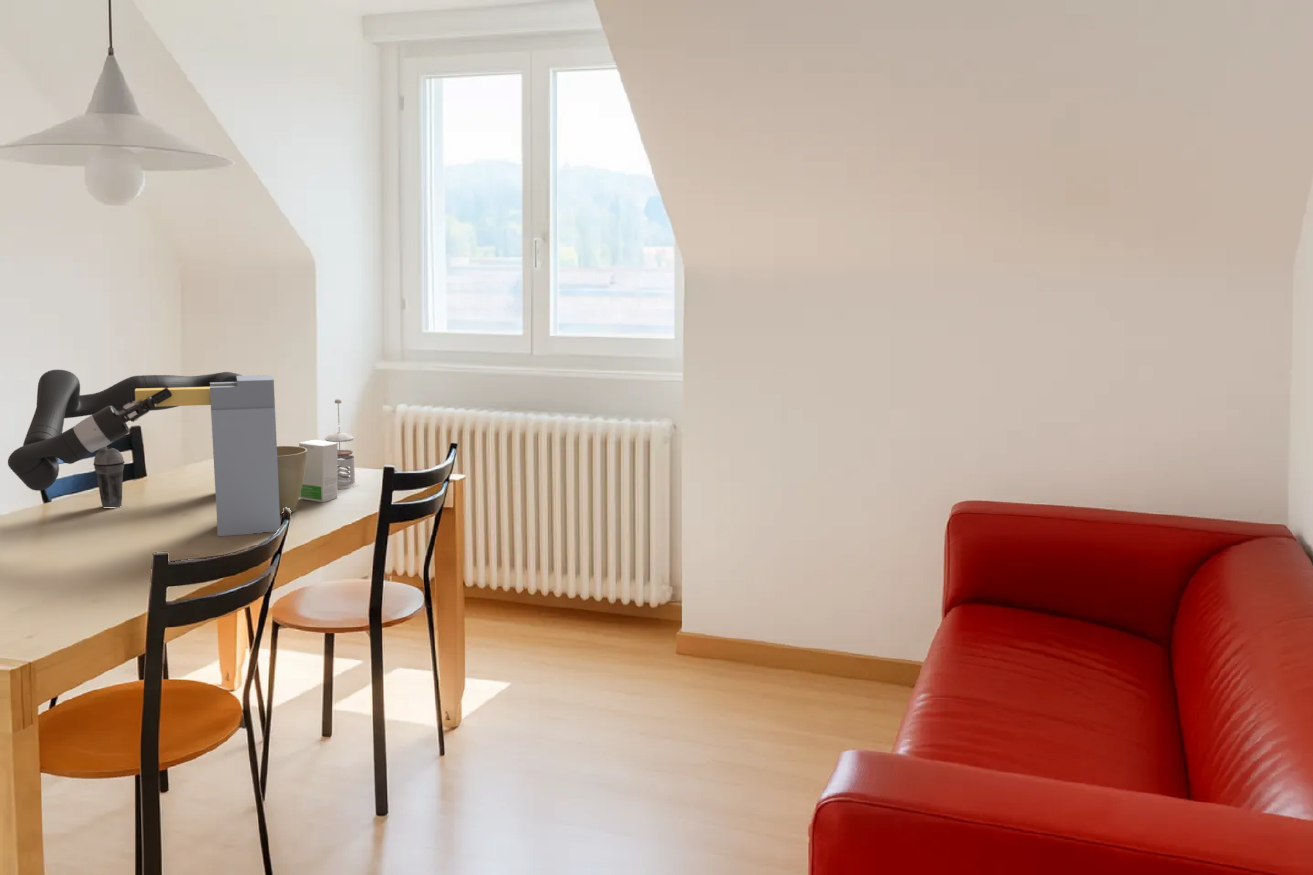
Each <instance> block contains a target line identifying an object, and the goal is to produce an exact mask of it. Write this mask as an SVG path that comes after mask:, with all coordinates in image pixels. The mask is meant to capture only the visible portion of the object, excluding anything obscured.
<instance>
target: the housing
mask: <svg viewBox="0 0 1313 875" xmlns="http://www.w3.org/2000/svg"><path fill="white" fill-rule="evenodd" d="M275 398H276V397H275V380H274V378H273V375H272V374H268V375H267V374H265V375H264V374H263V375H260V374H259V375H242V376H237V382H213V383H210V401H211V405H210V413H211V414H210V417H211V432H212V434H211V435H212V436H211V437H212V452H213V453H212V454H213V468H214V470H213V473H214V474H213V476H214V491H215V509H216V510H215V511H216V524H217V526H216V528H217V529H216V530H217V537H227V536H228V537H229V536H240V535H241V536H242V535H254V534H253V533H257V534H263V533H262V532H270V533H277V532H276V531H277V530H278V529H279V528H280V529H281V514H280V509H279V486H278V463H277V446H278V445H277V425H276V424H277V423H276V422H277V421H276V420H277V418H276V403H275V402H276V400H275Z"/></svg>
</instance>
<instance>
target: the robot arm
mask: <svg viewBox="0 0 1313 875" xmlns="http://www.w3.org/2000/svg"><path fill="white" fill-rule="evenodd" d="M237 376H243V374H240V373H236V372H233V371H222V372H216V373H210V374H209V373H208V374H202V375H191V376H189V375H187V376H185V375H175V374H174V375H171V374H170V375H169V374H168V375H167V374H146V375H133V376H130V377H127V378H125V379H123V380H121V381H118V382H116V383H115V384H113V385H112V386H111V385H110V386H109V387H108V388H105V389H104V390H102V391H98V392H95V393H89V394H82V395H81V384H80V383H81V382H80V380H79V378H78V376H77V375H76V374H75V373H73V372H71V371H69V370H65V369H51V370H48V371H45V372H44V373H43V374H42V375H41V376H40V378H39V380H38V382H37V384H38V385H37V391H36V392H37V393H36V394H37V395H36V408H35V411H34V414H33V416H32V419H31V422H30V424H29V428H28V430H27V433H26V435H25V437H24V441H23V444H22V446H20V447H18V448H16V449H15V450H13V451H12V453H10V455H9V456H8V459H7V466H8V467H9V469H10V470H12V471H11V472H13V473H14V474H15V475H16V476H17V478H18V479H19V480H21V482H23V484H24V485H25V486H26V487H27V488H28V489H30V490H32V491H36V492H38V491H44V490H47V489H48V488H50V487H51V486H52V485H53V484H54V483H55V482H56V480H57V478H58V476H59V471H60V464H59V460H60V461H62V462H63V463H65V464H67V465H68V464H69V465H72V464H75V463H77V462H79V461H80V460H83V459H84V458H86V457H87V456H89V455H91V454H92V453H95V452H98V451H100V450H101V449H103V448H105V446H109V445H110V444H112V443H115V441H118V440H119V439H121V438H123V437H124V436H126V435H128V434H129V433H130V429H129V426H128V424H127V423H128V422H129V421H130V422H133V423H134V422H136V421H138V420H140V418H141V417H143V416H145V415H147V414H148V413H149V412H150V411H161V410H167V409H173V408H177V407H178V408H179V406H159V407H156V406H157V405H158V404H159V403H161V402H162V401H164V400H166V399H168V398H169V397H171V396H172V393H171V392H170V391H169V389H168V388H179V387H210V383H213V382H237ZM140 388H165V389H163V390H161V391H160V392H158V393H156V394H154V395H153V397H152V396H149V397H148V398H146V399H145V400H141V399H140V400H138V401H136V402H135V389H140ZM157 403H158V404H157ZM136 404H138V405H136ZM145 404H146V405H147V406H146V405H145ZM87 416H88V417H87ZM79 417H86V418H84V419H82V420H81V421H80V422H78V423H77V424H75V425H74V426H72V427H71V428H69V429H67V430H65V431H64V432H63V430H64V424H65V419H71V418H79Z"/></svg>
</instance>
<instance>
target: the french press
mask: <svg viewBox="0 0 1313 875" xmlns="http://www.w3.org/2000/svg"><path fill="white" fill-rule="evenodd" d="M334 404H337V416H338V424H340V407H339V406H340V404H342V400H341V399H340V398H336V399H334ZM340 430H341V429H340V428H338V431H337V432H333V433H331V434H329V435H327V436H326V437H324V441H328V442H334V443H338V445H339V449H338V450H337V490H345V489H344V488H347V489H352V488H351V487H353V488H355V487H354V486H356V487H358V486H359V483H358V482H357V481H356V478H355V475H356V474H355V456H354V455H352V454H353V453H354V452H353V450H350V449H341V443H342V442H343V443H346V442H352V441H354V439H355V437H354V436H352V435H350V434H348V433H346V432H341V431H340Z"/></svg>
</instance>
